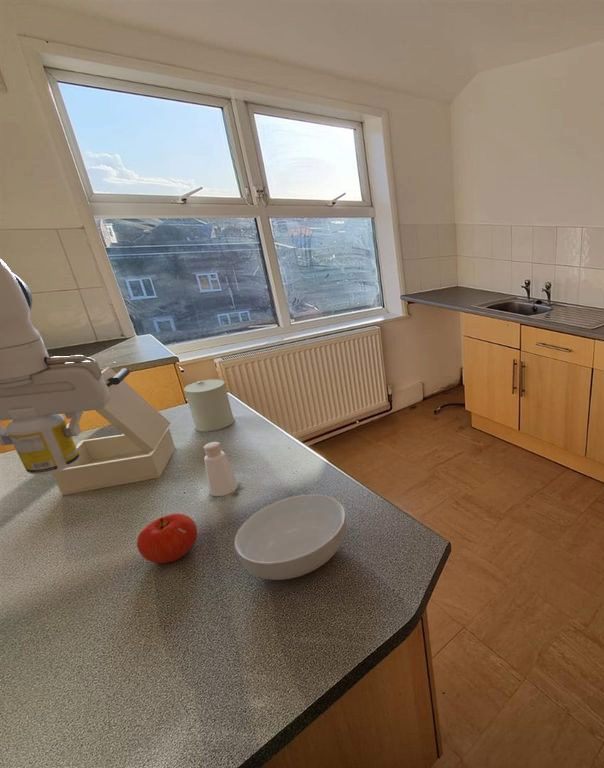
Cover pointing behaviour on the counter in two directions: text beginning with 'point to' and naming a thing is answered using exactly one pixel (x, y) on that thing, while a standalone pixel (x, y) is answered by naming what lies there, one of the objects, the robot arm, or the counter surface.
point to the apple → (167, 538)
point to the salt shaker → (218, 471)
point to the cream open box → (113, 463)
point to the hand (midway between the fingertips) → (42, 439)
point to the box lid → (132, 412)
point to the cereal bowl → (291, 536)
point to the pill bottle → (41, 441)
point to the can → (209, 405)
